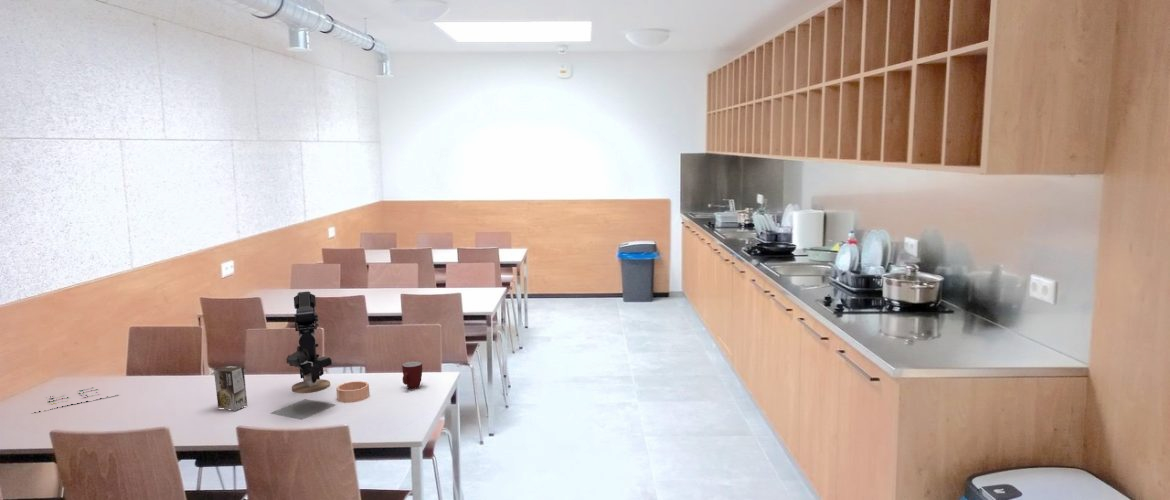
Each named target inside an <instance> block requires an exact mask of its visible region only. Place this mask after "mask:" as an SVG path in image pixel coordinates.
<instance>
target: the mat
mask: <svg viewBox="0 0 1170 500" xmlns="http://www.w3.org/2000/svg"><path fill="white" fill-rule="evenodd" d="M335 406H336V404H335V403H330V402H329V403H328V402H324V401H317V400H311V399H308V398H307V399H306V398H305V399H302V400H300V401H297V402H295V403H292V404H289V405H287V406H284V407H282V408H280V409H277V410H274V411H271V412H269V414H271V415H277V416H280V417H281V416H283V417H286V418H292V419H297V420H304V419H307V418H309V417H311V416H313V415H316V414H319V413H321V412H323V411H325V410H328V409H330V408H333V407H335Z"/></svg>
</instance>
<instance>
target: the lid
mask: <svg viewBox="0 0 1170 500" xmlns="http://www.w3.org/2000/svg"><path fill="white" fill-rule="evenodd" d="M330 386H331V381H329V380H327V379H324V378H323V379H322V378H320V379H317V380H316V382H315V383H313V382H312V377H311V373H310V374H307V375H305V376H304V381H303V380H302V381H299V382H296V383H295V384H293V385H292V386H291V391H292V392H294V393H297V394H311V393H317V392H321V391H324V390H326V389H328V388H330Z"/></svg>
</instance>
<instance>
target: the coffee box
mask: <svg viewBox="0 0 1170 500" xmlns="http://www.w3.org/2000/svg"><path fill="white" fill-rule="evenodd" d="M213 374H214V382H215V390H216V400H217V408H224V409H231V410H237V409H240V408H242V407H244V406H247V407H248V400H247V399H248V397H247V389H246V379H245V368H244V366H237V365H224V366H222V367H221V366H220V367H219V368H216V369H214V370H213ZM244 408H245V407H244ZM242 409H243V408H242ZM240 410H241V409H240ZM237 411H238V410H237Z"/></svg>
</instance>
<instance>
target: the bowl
mask: <svg viewBox="0 0 1170 500" xmlns="http://www.w3.org/2000/svg"><path fill="white" fill-rule="evenodd" d="M335 389H336V400H338V401H339V402H341V403H355V402H360V401H363V400H366V399H368V398H369V397H370V395H371V394H370V393H371V392H370V384H369V383H368V382H367V381H361V380H357V381H355V380H354V381H349V382H344V383H342V384H341V383H340V384H339V385H338V386H337V387H336V388H335Z"/></svg>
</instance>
